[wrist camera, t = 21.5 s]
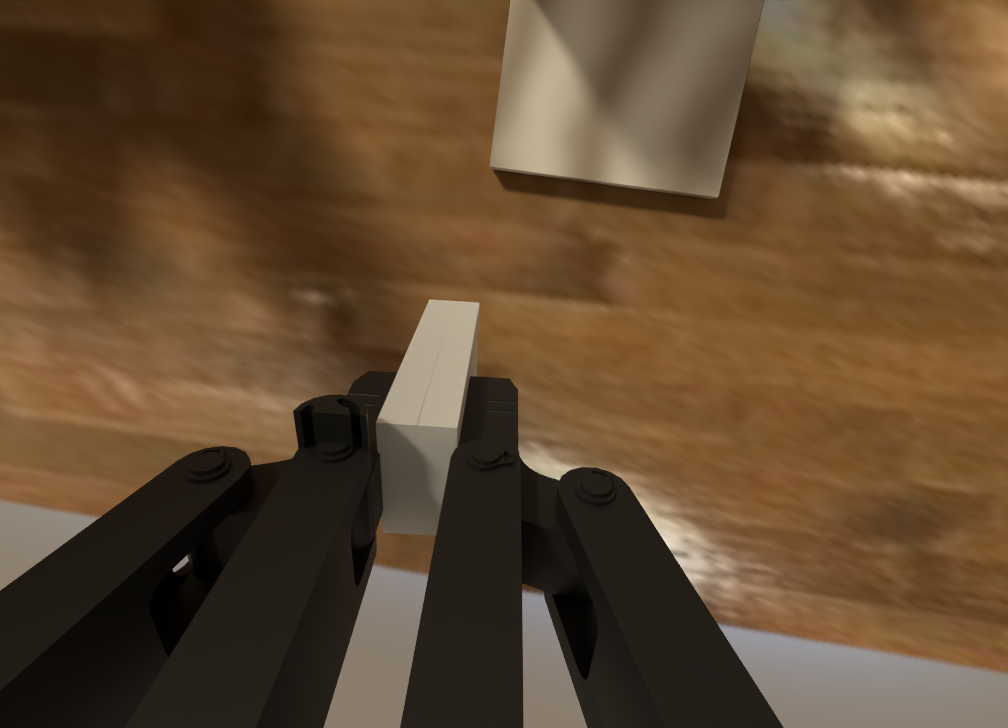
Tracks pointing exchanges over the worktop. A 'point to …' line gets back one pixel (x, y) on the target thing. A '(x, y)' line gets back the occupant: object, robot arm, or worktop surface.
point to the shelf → (624, 91)
